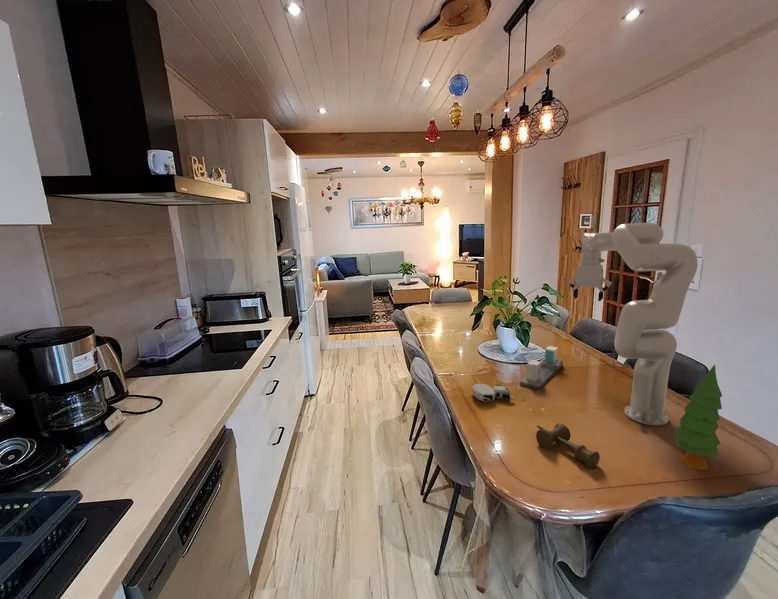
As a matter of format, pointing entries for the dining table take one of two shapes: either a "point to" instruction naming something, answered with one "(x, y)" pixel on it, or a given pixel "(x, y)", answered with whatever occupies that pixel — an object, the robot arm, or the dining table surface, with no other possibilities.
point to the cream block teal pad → (551, 354)
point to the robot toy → (490, 392)
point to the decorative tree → (700, 423)
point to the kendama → (566, 444)
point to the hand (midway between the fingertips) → (587, 299)
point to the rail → (543, 377)
